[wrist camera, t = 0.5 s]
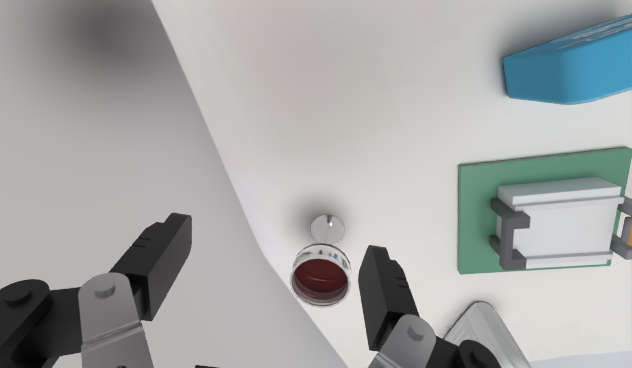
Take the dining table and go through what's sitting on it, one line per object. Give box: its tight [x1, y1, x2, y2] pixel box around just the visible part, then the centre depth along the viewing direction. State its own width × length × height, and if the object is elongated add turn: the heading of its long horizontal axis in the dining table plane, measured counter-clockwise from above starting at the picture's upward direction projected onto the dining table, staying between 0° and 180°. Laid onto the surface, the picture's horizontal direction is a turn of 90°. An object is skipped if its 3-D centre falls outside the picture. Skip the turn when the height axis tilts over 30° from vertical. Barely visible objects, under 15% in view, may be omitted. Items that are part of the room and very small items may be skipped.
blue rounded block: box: [503, 14, 632, 105], centre depth 27 cm, size 12×4×12 cm, turn 110°
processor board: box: [458, 147, 632, 274], centre depth 36 cm, size 19×16×7 cm
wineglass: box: [290, 215, 351, 308], centre depth 38 cm, size 7×7×12 cm
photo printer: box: [444, 302, 531, 368], centre depth 41 cm, size 10×4×12 cm, turn 157°
